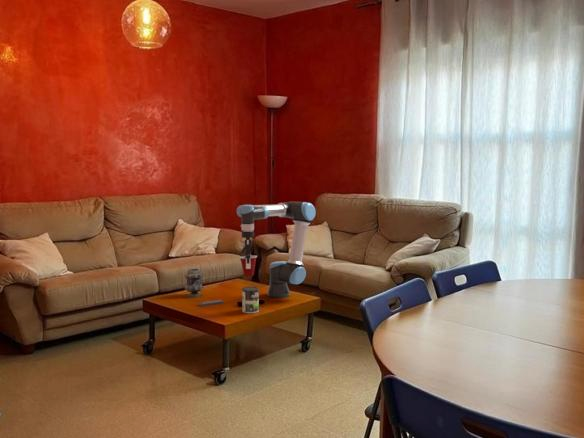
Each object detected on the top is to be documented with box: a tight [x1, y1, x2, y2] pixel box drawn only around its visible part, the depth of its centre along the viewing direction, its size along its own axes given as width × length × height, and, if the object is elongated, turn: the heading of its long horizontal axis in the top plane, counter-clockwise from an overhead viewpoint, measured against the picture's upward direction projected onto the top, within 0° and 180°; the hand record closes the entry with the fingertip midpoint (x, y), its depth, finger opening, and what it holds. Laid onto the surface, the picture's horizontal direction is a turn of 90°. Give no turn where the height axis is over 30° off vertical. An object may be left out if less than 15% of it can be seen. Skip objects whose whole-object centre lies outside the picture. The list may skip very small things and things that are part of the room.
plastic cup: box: [239, 254, 258, 277], centre depth 332 cm, size 11×11×12 cm
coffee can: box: [241, 286, 260, 314], centre depth 335 cm, size 10×10×14 cm
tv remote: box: [198, 299, 224, 307], centre depth 352 cm, size 15×4×2 cm, turn 119°
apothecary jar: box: [184, 268, 204, 298], centre depth 371 cm, size 12×12×18 cm
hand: (248, 266), depth 333 cm, fingers closed on plastic cup, 11 cm apart
